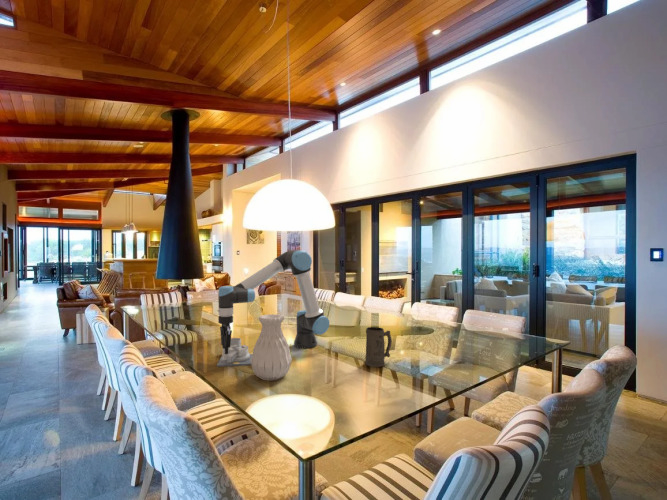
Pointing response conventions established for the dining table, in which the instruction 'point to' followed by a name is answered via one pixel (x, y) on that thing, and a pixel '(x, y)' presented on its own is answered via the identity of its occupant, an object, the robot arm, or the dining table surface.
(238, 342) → the cup
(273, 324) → the vase
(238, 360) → the housing
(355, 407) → the dining table surface
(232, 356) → the grey lumpy block
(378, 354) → the beer stein
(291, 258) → the robot arm
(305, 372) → the dining table surface
